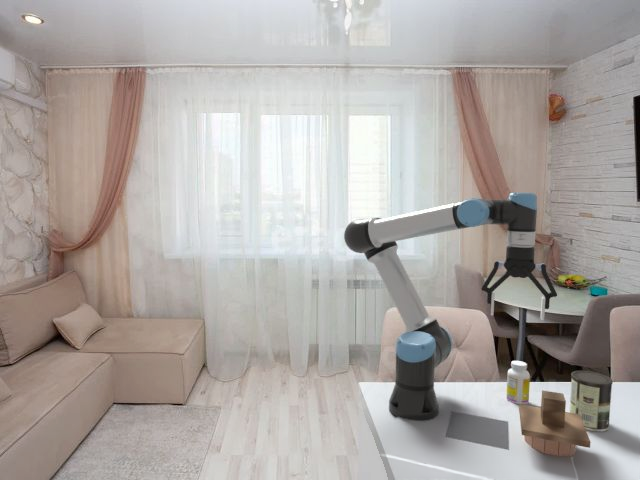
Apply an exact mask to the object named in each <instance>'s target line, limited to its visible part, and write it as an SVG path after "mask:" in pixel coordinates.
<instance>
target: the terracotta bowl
mask: <svg viewBox="0 0 640 480" xmlns="http://www.w3.org/2000/svg"><path fill="white" fill-rule="evenodd" d="M523 437H524V438H523V439H524V442H525V443H526V444H527V445H529V447H531V448H533V449H535V450H537V451H539V452H541V453H543V454H547V455H551V456H557V457H558V456H559V457H562V456H563V457H565V456H566V457H567V456H570V457H572V456H573V455H575V454H576V448H577V447H576V446H577V445H572V444H567V443H561V442H556V441H551V440H546V439H540V438H535V437H530V436H525V435H523Z"/></svg>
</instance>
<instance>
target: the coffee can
mask: <svg viewBox="0 0 640 480" xmlns="http://www.w3.org/2000/svg"><path fill="white" fill-rule="evenodd" d="M570 375H571V385H570V401H569V402H570V403H569V413H575V414H580V416H581V418H582V421H583V424H584V426H585V429H586V431H590V432H599V433H602V432H607V431H608V430H609V429H610V414H611V413H610V412H611V403H612V399H611V398H612V386H613V381H614V380H613V379H612V378H611V377H609V376H608V375H605V374H602V373H600V372H595V371H590V370H575V371H572V372H571V374H570Z"/></svg>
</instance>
